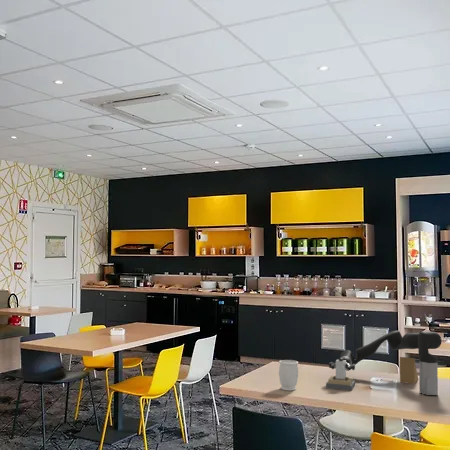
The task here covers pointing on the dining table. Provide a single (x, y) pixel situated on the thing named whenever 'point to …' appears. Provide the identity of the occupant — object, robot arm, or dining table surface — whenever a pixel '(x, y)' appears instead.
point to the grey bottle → (341, 369)
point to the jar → (288, 374)
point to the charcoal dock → (342, 387)
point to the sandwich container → (408, 370)
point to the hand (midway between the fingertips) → (340, 368)
